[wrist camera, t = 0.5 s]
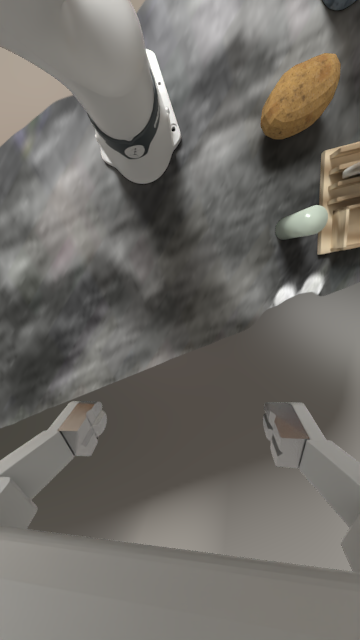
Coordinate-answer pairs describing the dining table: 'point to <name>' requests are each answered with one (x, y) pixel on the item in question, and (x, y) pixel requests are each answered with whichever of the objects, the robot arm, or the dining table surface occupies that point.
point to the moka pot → (338, 4)
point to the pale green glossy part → (302, 223)
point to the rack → (340, 198)
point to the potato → (300, 96)
